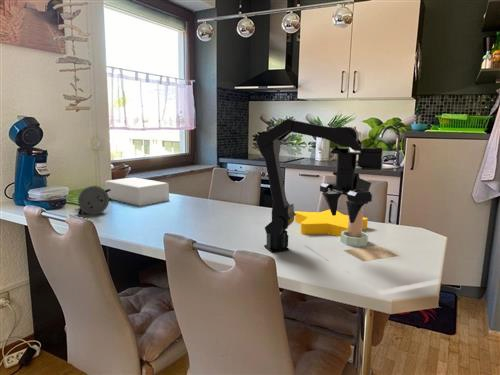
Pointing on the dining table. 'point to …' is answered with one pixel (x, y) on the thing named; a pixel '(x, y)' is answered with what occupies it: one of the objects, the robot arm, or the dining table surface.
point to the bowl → (354, 239)
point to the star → (324, 222)
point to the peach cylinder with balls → (356, 226)
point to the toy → (93, 200)
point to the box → (137, 191)
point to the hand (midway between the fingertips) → (342, 219)
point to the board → (370, 253)
